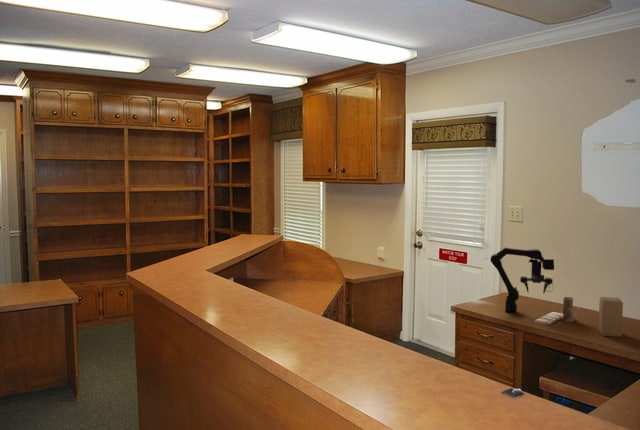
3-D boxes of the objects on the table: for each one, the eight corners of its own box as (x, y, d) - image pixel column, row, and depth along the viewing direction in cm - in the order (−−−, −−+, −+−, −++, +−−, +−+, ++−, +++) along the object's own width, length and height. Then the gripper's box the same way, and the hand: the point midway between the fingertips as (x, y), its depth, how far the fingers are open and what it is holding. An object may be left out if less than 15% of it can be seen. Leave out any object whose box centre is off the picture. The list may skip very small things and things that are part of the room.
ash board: (548, 325, 307) (548, 322, 307) (534, 322, 313) (534, 320, 313) (565, 316, 325) (565, 314, 325) (552, 313, 331) (552, 311, 331)
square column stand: (559, 320, 316) (560, 297, 315) (563, 317, 321) (564, 295, 320) (571, 322, 311) (572, 299, 310) (575, 320, 316) (576, 297, 315)
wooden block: (618, 332, 292) (619, 297, 290) (622, 337, 282) (623, 301, 281) (598, 330, 295) (599, 296, 293) (601, 336, 286) (602, 300, 284)
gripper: (520, 270, 326) (520, 295, 327) (553, 272, 319) (552, 297, 320) (520, 267, 336) (520, 291, 337) (551, 269, 330) (551, 293, 331)
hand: (535, 293), depth 331 cm, fingers open, 9 cm apart
